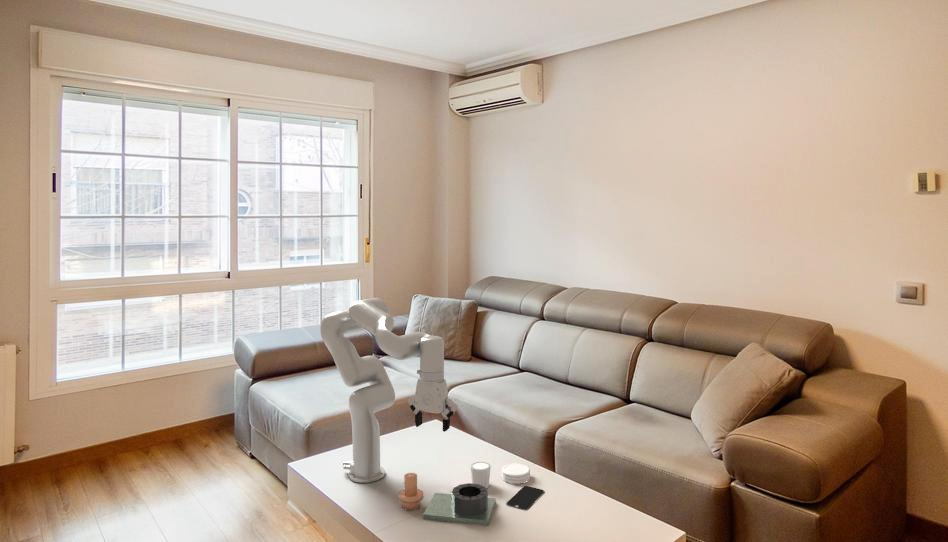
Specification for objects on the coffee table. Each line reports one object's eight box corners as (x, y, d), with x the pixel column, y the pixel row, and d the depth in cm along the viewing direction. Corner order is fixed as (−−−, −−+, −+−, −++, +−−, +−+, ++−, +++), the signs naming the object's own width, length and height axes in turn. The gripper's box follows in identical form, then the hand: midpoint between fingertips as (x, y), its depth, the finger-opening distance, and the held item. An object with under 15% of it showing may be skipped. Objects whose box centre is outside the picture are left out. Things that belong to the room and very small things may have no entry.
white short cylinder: (531, 473, 207) (531, 464, 206) (528, 486, 197) (528, 476, 197) (504, 471, 209) (504, 461, 209) (499, 483, 199) (499, 473, 199)
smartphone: (504, 504, 184) (524, 484, 197) (504, 506, 184) (524, 487, 197) (526, 510, 180) (545, 490, 193) (526, 512, 180) (545, 492, 193)
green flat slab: (423, 519, 176) (422, 498, 175) (435, 497, 189) (435, 478, 189) (488, 525, 172) (488, 504, 171) (495, 502, 185) (495, 483, 185)
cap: (394, 511, 180) (394, 480, 180) (403, 498, 188) (402, 469, 187) (419, 513, 179) (419, 482, 178) (426, 501, 187) (426, 471, 186)
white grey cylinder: (488, 490, 193) (488, 470, 193) (468, 489, 195) (468, 469, 194) (492, 481, 200) (492, 462, 199) (472, 480, 201) (472, 460, 201)
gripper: (402, 375, 183) (402, 427, 185) (451, 381, 176) (451, 436, 178) (414, 369, 190) (414, 420, 192) (461, 375, 183) (461, 428, 185)
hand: (432, 427), depth 185 cm, fingers open, 9 cm apart
